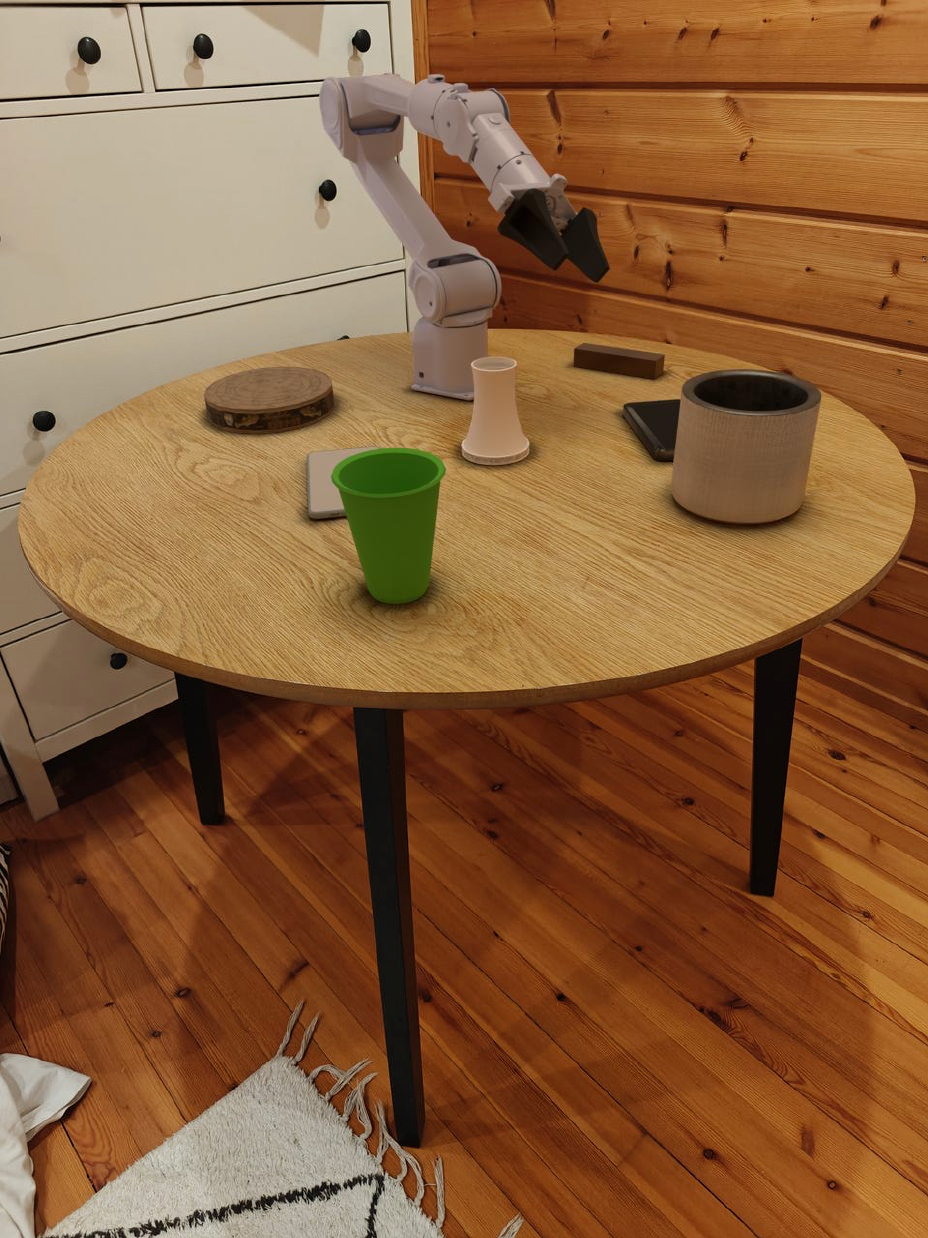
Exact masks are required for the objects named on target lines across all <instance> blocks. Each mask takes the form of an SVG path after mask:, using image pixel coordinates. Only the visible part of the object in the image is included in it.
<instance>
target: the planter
mask: <svg viewBox="0 0 928 1238" xmlns="http://www.w3.org/2000/svg"><path fill="white" fill-rule="evenodd" d="M680 399H681V401H680V411H679V420H678V429H677V438H676V446H675V454H674V460H673V462H672V472H671V482H670V490H671V496H672V497H673V499H674V500H675V502H677V503H678V505H680V507H682V508H684V509H685V510H686V511H688V512H690V513H691V514H693V515H695V516H697V517H699V518H702V519H704V520H708V521H713V522H716V523H721V524H728V525H738V526H749V525H750V526H753V525H764V524H768V523H773V522H777V521H780V520H782V519H785V518H786V517H789V516H790V515H792V514H794V513H796V512H797V511H798V510H799V509H800V508H801V506H802V504H803V502H804V498H805V494H806V489H807V483H808V477H809V472H810V465H811V460H812V459H811V458H812V453H813V447H814V443H815V436H816V431H817V424H818V419H819V414H820V407H821V402H822V392H821V391H820V389H819V388H818V387H817V386H815V385H814V384H813V383H811V382H809V381H807V380H806V379H803V378H800V377H797V376H795V375H791V374H787V373H783V372H777V371H773V370H764V369H749V368H748V369H747V368H738V369H737V368H734V369H732V368H731V369H721V370H720V369H719V370H713V371H708V372H703V373H701V374H698V375H695V376H693V377H691V378H688V379H687V380H686V381H685V382H684V383H683V384H682V385H681V393H680Z"/></svg>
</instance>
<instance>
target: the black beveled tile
mask: <svg viewBox="0 0 928 1238" xmlns="http://www.w3.org/2000/svg"><path fill="white" fill-rule="evenodd" d="M680 401H681V398H674V399H673V398H672V399H660V400H645V401H644V400H643V401H633V402H631V401H630V402H626V403H624V404H622V416H623V417H624V419H625V420H626V422H627V423H628V425H629V426H630V427H631V428H632V430H633V431H634V433H635V434H636V435H637V437H638V438H639V440H640V442H641V443H642V444H643V445H644V447H645V448H646V450H647V451H648V453H649V454H650V455H651V457H652V458H653V459H655V460H657V461H662V462H663V461H665V462H667V461H674V454H675V446H676V438H677V429H678V420H679V411H680Z"/></svg>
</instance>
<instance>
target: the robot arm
mask: <svg viewBox="0 0 928 1238" xmlns="http://www.w3.org/2000/svg"><path fill="white" fill-rule="evenodd" d="M445 80H446V77H445V75H444V74H440V73H437V74H435V73H434V74H428V75H427V78H424V79H422V80H420V81H418V82H417V83H414V82H412V81H409V80H407V79H405V78H402V77H401V75H400V73H391V72H385V73H383V74H374V75H373V74H372V75H361V76H345V77H335V76H327V77H326V78H325V79H324V80H323V82H322V85H321V86H320V90H319V96H318V102H319V105H318V106H319V111H320V115H321V123H322V127H323V130H324V131H325V132H326V134H327V136H328V137H329V139H330V140H331V142H332V143H333V144H334V146H335V147H336V149H337V150H338V152H339V153H340V155H341V157H343V158H344V159H346V160H348V161H349V164H350V167H351V168H352V170H353V172H354V174H355V177H356V178H357V180H358V181H359V183H360V184H361V185H362V186H363V189H364V190H365V192H366V193H367V194H368V196H369V198H370V199H371V201H372V202H373V203H374V205H375V206H376V207H377V209H378V211H379V212H380V213H381V215H382V217H383V218H384V219H385V221H386V223H387V224H388V226H389V227H390V228H391V230H392V232H393V233H394V234H395V236H396V237H397V238H398V240H399V242H400V243H401V245H402V246H403V247H404V249H405V251H406V252H407V253H408V255H409V256H410V258H411V259H412V263H411V265H410V268H409V272H408V277H407V278H408V280H407V281H408V282H407V286H408V287H409V289H410V290H411V293H412V295H413V297H414V302H415V304H416V307H417V310H418V311H419V313H420V314H421V317H420V318H419V319H418V320H417V322H416V323H415V325H414V328H413V331H412V336H411V350H412V364H413V381H414V383H413V384H412V385H410V388H411V390H413V391H418V392H422V393H423V392H424V393H429V394H434V395H439V396H443V397H449V398H455V399H459V400H465V401H472V400H473V401H474V380H473V372H472V366H471V363H472V362H473V361H475V360H477V359H480V358H485V357H489V332H488V331H489V330H488V329H489V328H488V327H489V326H488V319H489V318H493V310H494V309H496V308H497V306H498V305H499V302H500V299H501V296H502V280H501V275H500V273H499V270H498V269H497V267H496V265H495V264H494V263H493V261H492V260H491V259H489V258H487V257H484V256H483V255H482V254H481V253H480V251H478V249H477V248H476V247H474V246H472V245H469V244H467V243H463V242H460V241H458V240H455V239H452V238H451V236H450V235H449V234H448V232H447V230H445V228H444V227H443V225H442V224H441V221H439V219H438V218H437V217H436V215H435V214H434V212H433V211H432V210H431V208H430V207H429V205H428V204H427V202H426V201H425V200H424V198H423V197H422V195H421V194H420V192H419V191H418V190H417V187H415V184H413V183H412V180H410V178H409V176H407V174H406V172H405V171H404V169H403V168H402V167H401V166H400V164H399V162H398V161H397V159H396V157H397V156H399V154H400V153H401V152H402V151H403V150H404V136H405V135H404V133H405V117H406V118H408V121H409V123H410V126H411V127H412V128H413V129H414V130H415V131H416V132H418V133H419V134H421V135H425V136H427V137H429V138H432V139H434V140H436V141H439V142H441V143H442V144H443V145H442V148H443V151H444V152H445V153H446V154H447V155H449V156H453V157H454V156H457V157H459V159H460V160H461V162H463V163H464V164H468V165H470V166H471V168H472V169H473V171H474V172H475V173H476V175H477V176H478V177H479V178H480V180H481V181H482V183H483V185H485V187H486V188H487V190H488V191H489V192H490V195H489V196H488V197H487V200H488V201H487V202H489V203H490V205H491V206H492V207H493V209H494V210H495V212H496V213H498V214H501V215H503V217H502V219H501V220H500V221H499V223H498V225H497V232H498V233H499V235H500V236H502V237H505V238H508V239H509V240H511V241H514V243H517V244H518V245H520V246H522V247H523V248H525V249H526V250H527V251H529V252H530V253H531V254H532V255H534V256H535V257H536V258H537V259H538V260H539V261H540V262H542V263H543V264H544V265H545V266H547V267H548V268H549V269H551V270H552V271H556V272H557V271H558V269H559V268H560V267H561V266H562V265H563V264H564V262H565V261H566V260H568V261H570V263H572V264H573V265H574V266H575V267H576V268H577V269H578V270H579V271H580V272H581V273H582V274H583V275H584V276H585V277H586V278H587V279H589V280H590V281H591V282H594V283H595V284H598V283H599V282H600V281H601V280H602V279H603V278H604V276H605V275H606V274H607V273H608V272H609V271H610V270H611V268H610V263H609V262H608V259H607V256H606V253H605V251H604V249H603V246H602V244H601V241H600V236H599V230H598V217H597V215H596V214H595V212H594V211H593V210H592V209H590V208H587V207H585V206H583V207H582V208H581V209H580V210H579V212H577V211H576V210H575V209H574V207H573V205H572V204H571V202H570V200H569V199H568V197H567V196H566V194H565V191H564V190H565V188H566V187H567V185H568V183H569V181H568V180H567V178H566V177H565V176H564V175H562V174H559V173H554V174H553V175H552V176H551V177H550V176H549V174H548V173H547V171H546V170H545V169H544V167H543V166H542V165H541V164H540V163H539V161H538V160H537V159H536V157H535V156H534V154H533V153H532V152H531V151H530V149H529V148H528V147H527V145H526V144H525V143H524V141H523V140H522V139H521V137H520V136H519V135H518V133H517V132H516V130H515V129H514V128H513V127H512V126H511V112H510V108H509V105H508V101H507V100H506V98H505V96H504V95H503V94H502V93H501V92H499V91H497V90H496V89H495V88H493V87H491V88H487V89H485V90H481V91H473V90H470V89H469V86H468V84H467V83H464V82H458V83H457V82H456V83H454V84H451V83H448V82H446V81H445Z"/></svg>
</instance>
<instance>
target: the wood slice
mask: <svg viewBox="0 0 928 1238" xmlns="http://www.w3.org/2000/svg"><path fill="white" fill-rule="evenodd" d="M203 399H204V404H205V408H206V413H207V418H208V421H209V422H210V423H211V424H212V426H214V427H216V428H218V429H221V430H222V431H227V432H233V433H237V434H256V435H257V434H260V435H261V434H271V433H281V432H287V431H291V430H296V429H301V428H303V427H304V428H305V427H307V426H310V425H313V424H315V423H318V422H319V421H321V420H323V419H324V418H327V417H328V416H329V415H330V414H332V412H333V411H334V410H335V398H334V389H333V380H332V377H330V376H329V375H328V374H327V373H326V372H324V371H320V370H317V369H315V368H307V367H301V366H271V367H260V368H254V369H249V370H244V371H240V372H239V371H238V372H236V373H232V374H229V375H226V376H223V377H221V378H220V379H219V378H218V379H217V380H215V381H213V382H212V383H210V385H208V386H207V387H206V388H205V390H204V393H203Z"/></svg>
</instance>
